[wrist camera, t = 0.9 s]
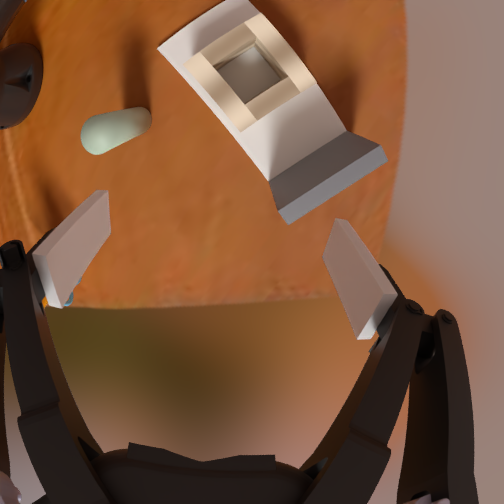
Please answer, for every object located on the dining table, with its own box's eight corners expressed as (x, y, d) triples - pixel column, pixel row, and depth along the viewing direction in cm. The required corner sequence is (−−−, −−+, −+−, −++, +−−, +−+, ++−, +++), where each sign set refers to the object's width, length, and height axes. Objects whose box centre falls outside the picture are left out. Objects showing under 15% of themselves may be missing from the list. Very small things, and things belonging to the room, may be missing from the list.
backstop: (158, 49, 26) (128, 34, 17) (240, -6, 23) (240, -40, 13) (276, 190, 38) (288, 225, 29) (351, 141, 34) (388, 160, 25)
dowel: (119, 121, 31) (74, 136, 21) (139, 100, 30) (98, 106, 20) (136, 140, 33) (97, 162, 23) (157, 121, 32) (122, 134, 22)
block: (192, 69, 28) (182, 64, 23) (257, 25, 25) (261, 12, 20) (240, 126, 32) (240, 132, 27) (304, 84, 29) (317, 82, 24)
